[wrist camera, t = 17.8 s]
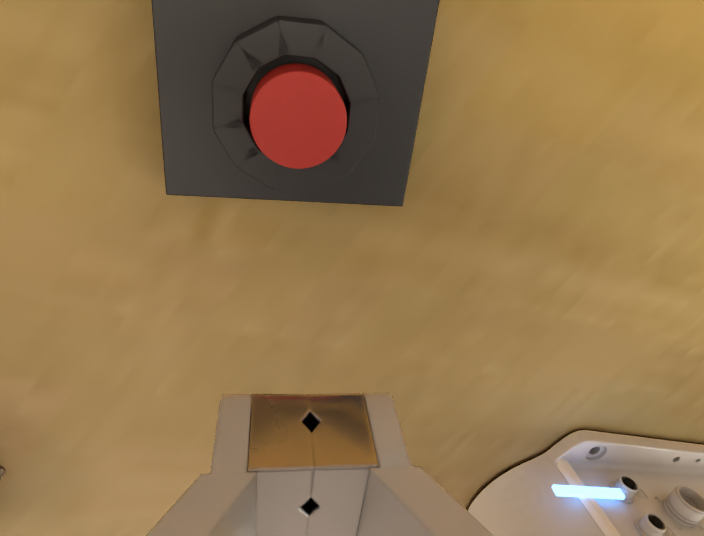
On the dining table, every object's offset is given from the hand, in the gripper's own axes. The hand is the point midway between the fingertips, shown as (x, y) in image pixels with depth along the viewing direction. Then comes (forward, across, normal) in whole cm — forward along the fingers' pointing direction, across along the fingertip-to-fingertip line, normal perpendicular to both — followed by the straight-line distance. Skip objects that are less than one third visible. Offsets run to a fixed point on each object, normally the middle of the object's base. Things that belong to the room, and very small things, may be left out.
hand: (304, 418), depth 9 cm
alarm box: (+17, 0, -2) cm, 17 cm away
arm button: (+14, 0, -2) cm, 14 cm away
